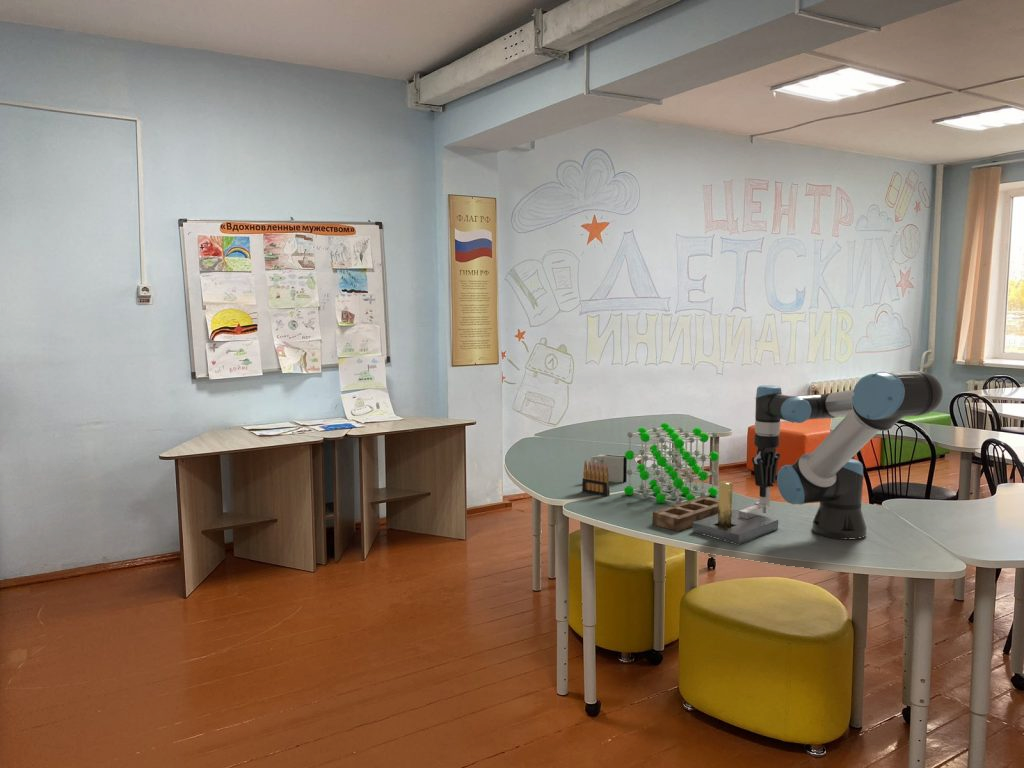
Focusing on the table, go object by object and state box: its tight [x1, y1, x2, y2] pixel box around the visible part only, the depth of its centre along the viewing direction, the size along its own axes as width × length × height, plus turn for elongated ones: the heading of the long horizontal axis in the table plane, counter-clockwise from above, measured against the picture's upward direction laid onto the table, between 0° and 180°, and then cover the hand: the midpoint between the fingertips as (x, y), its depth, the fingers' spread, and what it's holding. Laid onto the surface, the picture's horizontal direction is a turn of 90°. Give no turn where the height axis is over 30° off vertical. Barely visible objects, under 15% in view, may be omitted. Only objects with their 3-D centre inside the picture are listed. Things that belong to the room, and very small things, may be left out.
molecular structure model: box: [623, 422, 720, 505], centre depth 271 cm, size 24×25×24 cm
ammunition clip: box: [581, 459, 611, 497], centre depth 275 cm, size 11×2×12 cm, turn 53°
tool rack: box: [651, 495, 719, 532], centre depth 244 cm, size 10×28×4 cm, turn 131°
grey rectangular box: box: [590, 454, 628, 483], centre depth 294 cm, size 14×5×10 cm, turn 84°
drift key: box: [739, 501, 770, 519], centre depth 238 cm, size 4×12×2 cm, turn 131°
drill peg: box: [718, 480, 734, 529], centre depth 228 cm, size 4×4×16 cm
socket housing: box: [691, 508, 779, 545], centre depth 232 cm, size 16×22×3 cm
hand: (764, 506), depth 243 cm, fingers closed
